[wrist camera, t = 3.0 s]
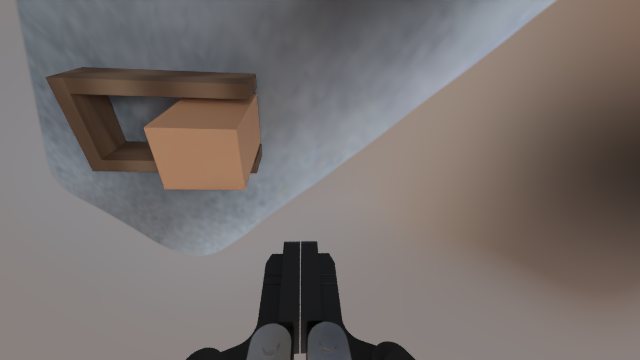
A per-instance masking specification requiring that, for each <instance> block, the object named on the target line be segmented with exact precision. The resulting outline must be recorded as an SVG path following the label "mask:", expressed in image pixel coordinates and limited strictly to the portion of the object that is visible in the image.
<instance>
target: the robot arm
mask: <svg viewBox="0 0 640 360" xmlns="http://www.w3.org/2000/svg"><path fill="white" fill-rule="evenodd" d="M299 311H300V242H284V250H283V254H272V255H271V256H270V258H269V260H268V261H267V263H266V266H265V274H264V281H263V289H262V295H261V302H260V309H259V317H258V323H257V326H256V329H255V330H254V332H253V334H252V335H251V336H250V337H249V338H248V339H247V340H246V341H245V342H243V343H242V344H240V345H238V346H235V347H233V348H230V349H228V350H225V351H223V352H220V351H218V350H217V349H215V348H203V349H200V350H198V351H196V352H194V353H193V354H191V355H190V356H189V357H188V358H187V359H186V360H294V354H298V353H299V320H300V319H299V316H300V313H299ZM301 353H306V360H415V359H414V358H413V357H412V356H411V355H410V354H409V353H408V352H407V351H406V350H405V349H404V348H403V347H401V346H400V345H398V344H396V343H394V342H382V343H380V344H378V345H377V346H376V345H373V344H370V343H366V342H364V341H361V340H358V339H356V338H354V337H353V336H352V335H351V334H350V333H349V332H348V331H347V330H346V328H345V326H344V324H343V322H342V316H341V308H340V300H339V293H338V285H337V278H336V270H335V263H334V261H333V259H332V258H331V256H330V254H329V253H318V247H317V241H302V242H301Z"/></svg>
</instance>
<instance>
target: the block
mask: <svg viewBox="0 0 640 360" xmlns="http://www.w3.org/2000/svg"><path fill="white" fill-rule="evenodd" d="M143 128H144V131H145V134H146V136H147V139H148V142H149V145H150V148H151V151H152V154H153V157H154V160H155V162H156V165H157V168H158V171H159V174H160V177H161V180H162V183H163V186H164V188H165V189H184V190H245V188H246V185H247V182H248V178H249V175H250V172H251V169H252V166H253V163H254V160H255V157H256V154H257V151H258V148H259V145H260V142H261V137H260V126H259V114H258V102H257V93H253V94H252V96H251V97H250V99H249V100H247V99H216V98H185V97H184V98H182V99H181V100H180V101H178V102H177V103H176V104H174V105H173V106H172V107H170V108H169V109H168V110H166V111H165V112H164V113H162V114H161V115H159V116H158V117H157V118H155V119H154V120H153V121H151V122H150V123H149V124H147V125H146V126H145V127H143Z"/></svg>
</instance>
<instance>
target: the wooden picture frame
mask: <svg viewBox="0 0 640 360" xmlns="http://www.w3.org/2000/svg"><path fill="white" fill-rule="evenodd" d="M46 79H47V81H48V83H49V85H50V87H51V89H52V91H53V93H54V95H55V97H56V99H57V101H58V103H59V105H60V107H61V109H62V111H63V113H64V115H65V117H66V119H67V121H68V123H69V124H70V126H71V128H72V130H73V132H74V134H75V136H76V138H77V140H78V142H79V144H80V146H81V148H82V150H83V152H84V154H85V156H86V158H87V160H88V162H89V164H90V166H91V168H92V170H93V171H128V172H159V171H158V168H157V165H156V162H155V160H154V157H153V154H152V151H151V148H150V145H149V142H127V141H126V140H125V137H124V135H123V132H122V130H121V127H120V125H119V122H118V120H117V117H116V115H115V112H114V110H113V107H112V105H111V102H110V100H109V97H108V95H122V96H154V97H185V98H216V99H247V100H249V99H250V97H251V96H252V94H253V92H254V91H255V89H256V87H257V86H256V74H242V73H216V72H190V71H164V70H138V69H112V68H86V67H82V68H78V69H75V70H71V71H67V72H64V73H60V74H56V75H52V76H49V77H46ZM261 157H262V145H261V144H260V145H259V148H258V151H257V154H256V157H255V160H254V163H253V166H252V169H251V172H250V173H257V171H258V167H259V164H260V160H261Z"/></svg>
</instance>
